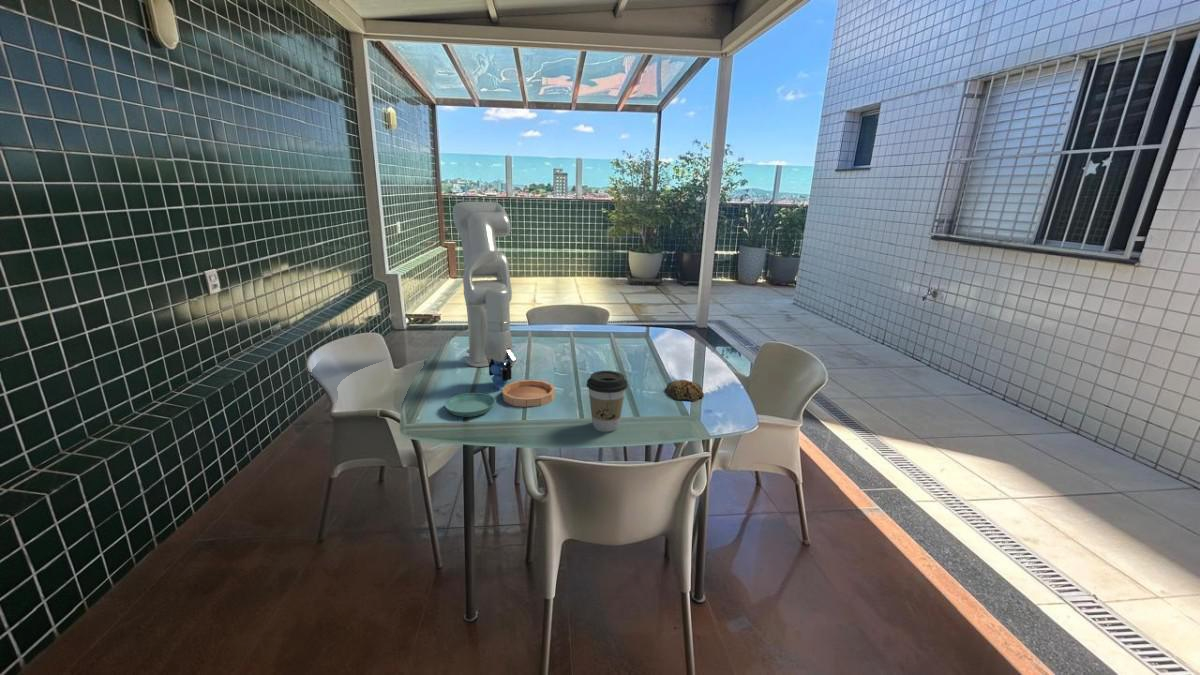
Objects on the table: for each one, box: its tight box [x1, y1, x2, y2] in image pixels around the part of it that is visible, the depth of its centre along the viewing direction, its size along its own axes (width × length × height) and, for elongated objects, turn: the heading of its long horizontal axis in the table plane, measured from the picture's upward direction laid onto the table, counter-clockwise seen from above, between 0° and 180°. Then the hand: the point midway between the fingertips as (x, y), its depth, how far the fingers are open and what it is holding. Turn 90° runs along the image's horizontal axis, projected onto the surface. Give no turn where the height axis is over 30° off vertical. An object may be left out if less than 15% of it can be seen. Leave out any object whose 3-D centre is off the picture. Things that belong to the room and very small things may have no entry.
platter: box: [502, 379, 556, 408], centre depth 156 cm, size 16×16×2 cm
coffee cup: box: [586, 370, 629, 433], centre depth 134 cm, size 11×11×15 cm
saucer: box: [444, 392, 496, 418], centre depth 145 cm, size 15×15×3 cm
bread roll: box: [665, 379, 705, 402], centre depth 160 cm, size 13×12×5 cm
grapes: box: [490, 359, 509, 389], centre depth 163 cm, size 12×7×12 cm, turn 166°
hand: (500, 376), depth 163 cm, fingers closed on grapes, 6 cm apart
